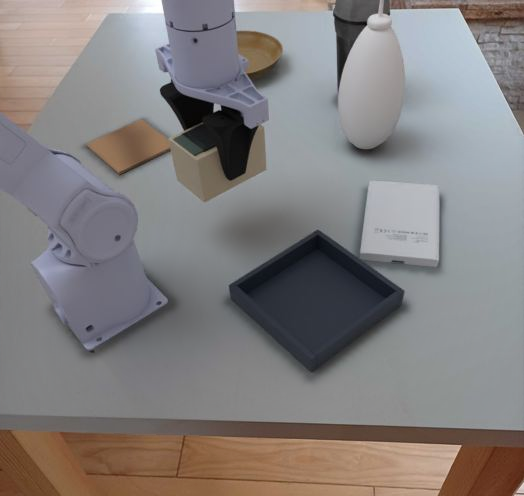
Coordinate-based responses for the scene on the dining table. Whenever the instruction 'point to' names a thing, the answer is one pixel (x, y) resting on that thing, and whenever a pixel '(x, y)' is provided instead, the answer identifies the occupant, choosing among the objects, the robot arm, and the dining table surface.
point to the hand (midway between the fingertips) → (220, 163)
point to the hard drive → (401, 223)
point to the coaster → (130, 146)
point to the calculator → (210, 162)
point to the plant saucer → (258, 52)
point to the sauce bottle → (372, 84)
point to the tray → (315, 298)
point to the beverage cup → (352, 25)
